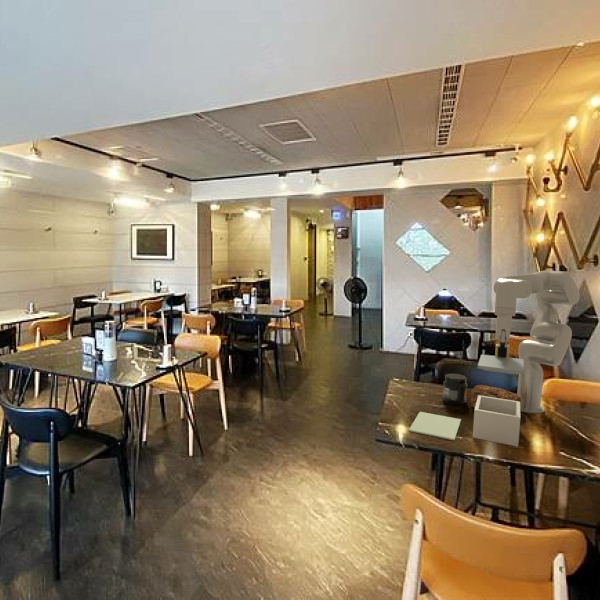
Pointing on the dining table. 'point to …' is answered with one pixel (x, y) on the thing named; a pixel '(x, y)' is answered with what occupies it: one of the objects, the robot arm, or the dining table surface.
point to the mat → (436, 425)
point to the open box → (497, 420)
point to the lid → (501, 363)
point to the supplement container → (455, 389)
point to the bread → (492, 394)
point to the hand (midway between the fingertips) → (502, 355)
